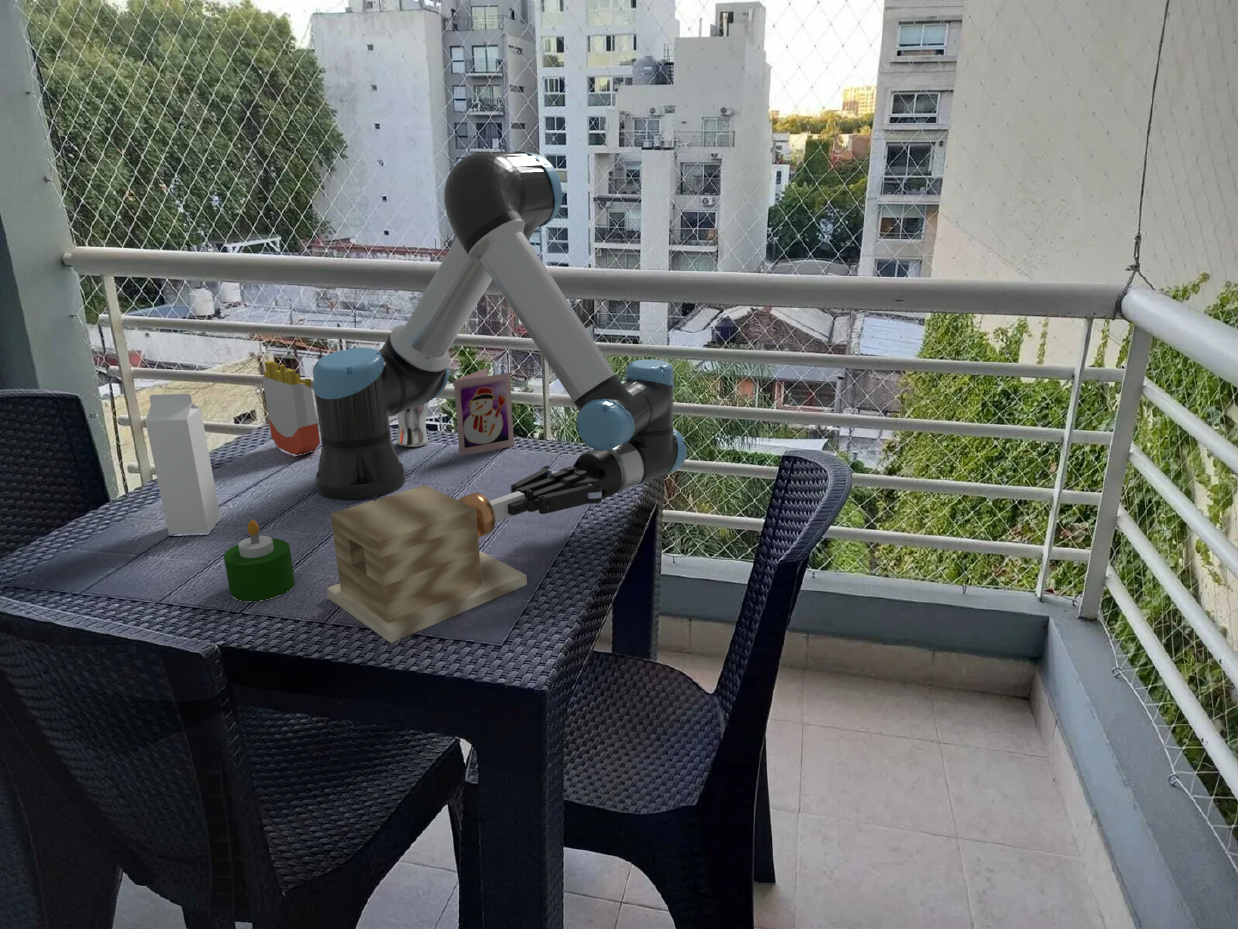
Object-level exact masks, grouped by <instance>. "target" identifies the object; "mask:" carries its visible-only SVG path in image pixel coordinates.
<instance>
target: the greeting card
mask: <svg viewBox="0 0 1238 929" xmlns="http://www.w3.org/2000/svg"><path fill="white" fill-rule="evenodd" d="M488 374H489V372H488V367H485V368H482V369H480V370H478V371H475V372H473V373H470V374H468V375H464V376H462V377H460V378H458V379H455V380H453V386H454V387H453V388H454V389H453V390H454V399H455V400H454V401H455V403H454V404H455V411H456V412H455V413H456V416H455V417H456V425H457V426H456V428H457V440H458V442H457V443H458V452H459V454H458V455H459V457H462V456H467V455H474V454H479V453H484V452H490V451H495V450H502V449H505V448H510V447H511V448H512V447H514V446H515V441H514V440H515V439H514V438H515V437H514V424H513V423H514V422H513V421H514V420H513V418H514V417H513V403H512V400H513V399H512V384H511V383H512V382H511V373H510V372H507V373H501V374H500V373H499V374H493V375H488Z"/></svg>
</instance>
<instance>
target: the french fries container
mask: <svg viewBox="0 0 1238 929" xmlns="http://www.w3.org/2000/svg"><path fill="white" fill-rule="evenodd" d="M264 367H265V371H264V372H263V375H262V377H261V378H262V385H263V392H264V396H265V403H266V409H267V416H268V423H269V429H270V436H271V437H270V438H272V440H273V442H274V443H275V445H276V447H277V448H278V449H279V448H281V449H283V450H285V451H287V452H289V453H291V454H295V455H299V454H304V453H307V452H310V451H314V450H315V451H316V449H318V447H319V445H320V444H321V440H320V439H321V437H320V432H319V431H320V430H319V422H318V417H317V414H316V413H317V412H316V407H315V401H314V396H313V391H312V387H311V386H312V380H311V378H304V379H303V378H301V374H299V373H297V372H296V369H294V368H293V369H291V368H290V367H288V368H286V364H279V363H277V362H275V361H273V360H268V361H264ZM315 451H314V452H315ZM304 455H305V454H304Z"/></svg>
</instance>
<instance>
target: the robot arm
mask: <svg viewBox="0 0 1238 929" xmlns="http://www.w3.org/2000/svg"><path fill="white" fill-rule="evenodd" d="M443 193H444V194H443V197H444V198H443V200H444V206H445V212H446V215H447V220H448V222H449V224H450V227H451V229H452V231H453V233H454V235H455V236H456V238H455V239H454V241H453V243H452V244H451V246H450V248H449V250H447V253H446V254H445V256H444V258H443V260H442V262H441V263H440V265H439V266H438V269H437V270H436V271H435V274H434V276H433V277H432V279H431V281H430V282H429V284H428V286H427V287H426V289H425V291H424V292H423V295H422V296H421V298H420V300H419V301H418V303H417V304H416V306H415V309H414V310H413V311H412V313H411V315H410V317H409V318H408V320H407V322H406V324H402V325H401V324H400V325H398V326H396V327H394V328H393V329H392V330H391V332H390V333H389V336H388V337H387V339H386V340H385V342H384V344H383V346H382V347H381V348H380V349H379V350H378V349H376V348H372V347H352V348H347V349H345V350H342V349H340V350H337V351H333V352H331V353H328V354H326V355H324V356H322V357H320V358H319V359H318V360H317V361H316V362H315V364H314V366H313V370H312V377H313V384H312V389H313V392H314V399H315V405H316V411H317V412H316V413H317V421H318V427H319V431H320V432H319V434H320V439H321V440H320V442H321V452H320V456H319V460H318V461H319V462H318V469H317V470H318V471H316V475H315V482H316V489H317V492H318V493H319V494H320V495H322V496H324V497H327V498H330V499H337V500H360V499H361V500H363V499H368V498H369V499H370V498H375V497H380V496H383V495H385V494H388V493H391V492H393V491H395V490H397V489H399V488H400V487H402V486H403V485H404V484H405V482H406V473H405V468H404V465H403V463H402V462H401V461H400V459H399V456H398V453H397V450H396V448H395V446H394V444H393V441H392V436H391V427H390V417H393V416H395V415H397V413H400V412H402V411H405V410H407V409H410V408H412V407H415V406H419V405H422V404H425V403H427V402H429V403H430V402H431V401H433V400H434V399H435V398H436V397H438V396H439V395H440V394H442V392H443V391H444V390H445V388H446V387H447V384H448V382H449V378H450V371H449V367H450V363H451V356H450V352H449V350H450V348H451V346H452V344H454V341H455V340H456V339H457V337H458V336H459V333H460V332H461V330H462V329H463V328H464V327H465V324H466V322H467V321H468V319H469V318H470V316H471V315H472V313H473V311H474V310H475V308H476V306H477V305H478V304H479V302H480V300H481V298H482V297H483V296H484V294H485V292H486V291H487V289H488V287H489V286H490V284H491V282H492V281H493V283H495V285H496V287H497V288H498V290H499V291H500V293H501V294H502V296H503V297H504V299H505V300H506V303H507V304H508V305H509V306H510V308H511V310H512V311H513V312H514V314H515V316H516V318H517V319H518V320H519V321H520V323H521V325H522V327H523V328H524V329H525V331H526V332H527V334H528V335H529V337H530V338H531V340H532V341H533V344H534V345H535V346H536V348H537V349H538V350H539V352H540V354H541V355H542V356H543V359H544V360H545V361H546V362H547V364H548V365H549V367H550V369H551V370H552V371H553V373H554V375H555V377H556V378H557V379H558V381H559V382H560V384H561V386H562V387H563V389H564V390H565V392H566V393H567V395H568V396H569V397H570V399H571V401H572V402H573V403H574V405H575V406H576V408H577V410H578V411H579V412H578V414H577V417H576V428H577V432H578V436H579V437H580V439H581V441H583V443H584V444H585V445H587V446H588V447H590V448H591V449H594V450H591V451H588V452H585V453H582V454H581V455H580V456H578V457H577V458H576V461H575V462H574V464H573V465H571V466H567V467H563V468H561V469H559V471H556V470H552V468H551V466H550V465H544V466H542V467H541V468H540V469H539V470H538V471H536V472H534V473H532V474H530V475H528V476H526V477H524V478H522V479H520V480H518V481H516V482H514V483H512V484H511V485H510V491H511V492H510V493H509V494H506V495H503V496H500V497H497V498H494V499H490V500H489V502H490V504H491V506H492V508H493V511H494V515H495V523H498V522H500V521H503V520H506V519H509V518H512V517H515V516H517V515H520V514H522V513H523V514H524V513H526V512H530V513H534V512H536V511H538V512H539V514H540V515H546V514H550V513H555V512H559V511H563V510H567V509H568V510H569V509H571V508H575V507H576V508H577V507H580V506H584V505H588V504H600V503H602V502H603V501H602V499H605V498H608V497H610V496H613V495H615V494H617V493H623V492H624V491H625V490H628V489H631V488H633V487H637V486H639V485H642V484H644V483H647V482H650V481H652V480H656V479H658V478H659V479H660V478H663V477H665V476H667V475H669V474H671V473H673V472H675V471H677V470H678V469H680V468H681V467H682V466H683V465H684V463H685V461H686V459H687V454H688V448H687V445H686V444H685V442H684V441H685V439H684V437H683V435H682V434H681V433H680V431H678V430H677V429H675V428H674V424H673V423H674V422H673V421H674V394H675V393H674V390H675V389H674V388H675V382H674V370H673V369H674V368H673V367H672V365H671V363H669V362H668V361H664V360H661V359H638V360H634V361H631V362H630V363H629V364H628V365H627V366H626V372H625V377H624V379H625V383H624V384H623V382H622V381H621V380H620V379H619V378H618V375H617V374H616V373H615V371H614V370H613V369H612V366H611V365H610V364H609V362H608V360H607V359H606V357H605V356H604V354H603V353H602V351H601V350H600V348H599V347H598V346H597V344H596V342H595V341H594V339H593V338H592V336H591V334H590V333H589V331H588V329H586V327H585V325H584V324H583V322H582V321H581V319H580V317H579V316H578V315H577V313H576V312H575V310H574V309H573V307H572V305H571V303H570V302H569V301H568V299H567V297H566V296H565V295H564V293H563V291H562V290H561V289H560V287H559V285H558V284H557V282H556V281H555V279H554V278H553V276H552V275H551V273H550V272H549V270H548V268H547V267H546V265H545V263H543V261H542V259H541V258H540V257H539V255H538V253H537V251H536V250H535V249H534V247H533V246H532V244H531V243H530V239H531V237H532V236H533V234H534V233H535V231H536V229H537V228H538V227H544V226H546V225H548V224H549V223H550V222H552V221H553V220H554V219H555V218H556V217H557V215H559V212H560V210H561V207H562V202H563V189H562V182H561V179H560V176H559V174H558V172H557V170H556V169H555V168H554V165H552V163H551V162H550V161H549V160H547V159H546V158H545V157H543V156H542V155H540V154H538V153H533V152H528V151H525V150H515V151H512V152H484V151H483V152H482V151H481V152H475V153H471V154H469V155H467V156H466V157H463V158H462V159H460V160H459V161H458V162H457V163H456V164H455V165H454V166H453V168H452V169H451V171H450V172H449V173H448V176H447V179H446V181H445V185H444V192H443Z"/></svg>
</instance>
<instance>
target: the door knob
mask: <svg viewBox="0 0 1238 929" xmlns="http://www.w3.org/2000/svg"><path fill="white" fill-rule="evenodd" d="M458 500H459V501H461V502H463V503H465V504H467V505H469V506H472V507H474V508H476V513H477V527H478V539H479V538H482V537H484V536H487V535H490V534H492V533H493V531H494V529H495V526H496V522H495V515H494V511H493V508H492V506H491V504H490V502H489V501H490V500H489V499H488V498H487V496H486V495H484V494H483V493H481V492H474V493H470V494H468V495H464V496H462V497H461V498H459V499H458Z"/></svg>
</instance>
